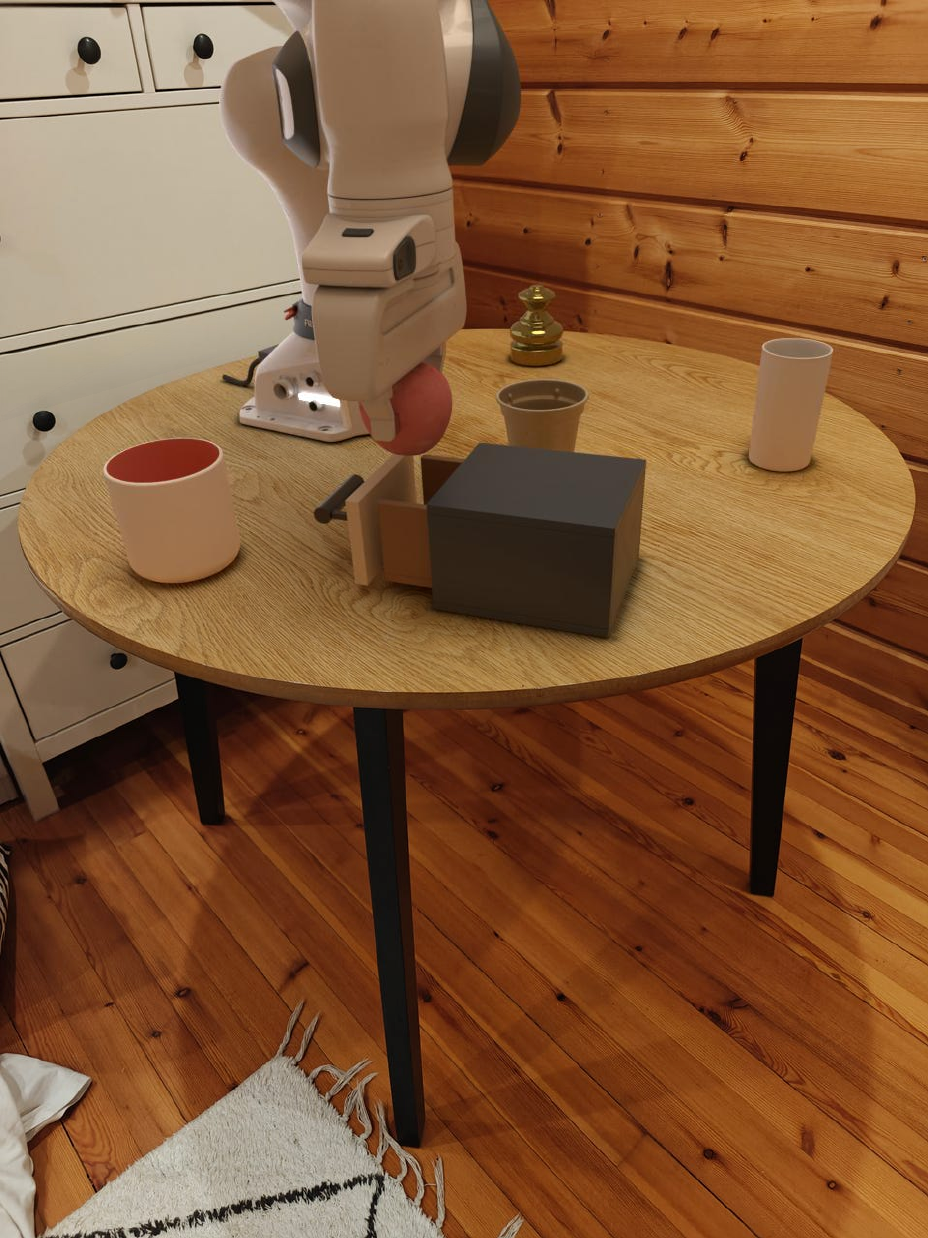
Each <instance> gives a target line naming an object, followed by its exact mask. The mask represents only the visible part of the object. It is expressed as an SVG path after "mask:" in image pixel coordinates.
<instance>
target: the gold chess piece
mask: <svg viewBox="0 0 928 1238" xmlns="http://www.w3.org/2000/svg"><path fill="white" fill-rule="evenodd" d="M555 298H556V293H555V292H554V291H552V290H551V289H549V288H547V287H545V286H544V285H542V284H532V285H530V286H529V287H528V288H525V289H523V290H522V291H520V292H519V293H518V299H519V300H520V301H521V302H522V303H523V304H524V305H525V307H526V311H525V313H524V314H523V315H522V316H520V318H519V320H518V321H515V323H513V324H512V325H511V326H510V329H509V336H510V338H511V340H512V341H511V342H510V343H509V347H510V360H511V361H512V362H513V363H516V364H517V365H520V366H527V367H545V366H551V365H553V364H556V363H559V362H560V361H561V360H562V359H563V346H564V343H563V341H562V340H560V339H561V338H562V337H563V335H564V327H563V325H562V324H561V323H559V321H556V320H554V317H553V316H551V315H550V313H549V312H548V310H547V307H548V305H549V304H550V303H551V302H552V301H553V300H554V299H555Z"/></svg>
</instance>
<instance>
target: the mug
mask: <svg viewBox="0 0 928 1238" xmlns="http://www.w3.org/2000/svg"><path fill="white" fill-rule="evenodd" d="M833 353H834V348H833V346H831V345H829V344H827V343H826V342H822V341H819V340H815V339H811V338H810V339H809V338H801V337H787V338H786V337H783V338H775V339H770V340H768V341H766V342H764V343H763V344H762V345H761V354H760V360H759V368H758V375H757V383H756V392H755V401H754V410H753V418H752V425H751V426H752V427H751V435H750V443H749V453H748V459H749V461H750V462H751V463H752V464H753V465H754V466H756V467H758V468H761V469H764V470H767V471H773V472H785V473H786V472H795V471H800V470H803V469H805V468H807V467H808V466H809V465H810V463H811V457H812V453H813V450H814V449H813V448H814V444H815V441H816V437H817V431H818V425H819V421H820V416H821V413H822V407H823V403H824V398H825V394H826V389H827V384H828V380H829V375H830V371H831V370H830V369H831V364H832V357H833Z"/></svg>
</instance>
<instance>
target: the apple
mask: <svg viewBox="0 0 928 1238" xmlns="http://www.w3.org/2000/svg"><path fill="white" fill-rule="evenodd" d="M451 389H452V388H451V386H450V384H449V381H448V380H447V377H446V376H445V375H444V374H443V372H442V373H441V372H439V371H438V370H437V369H436V368H434V367H433V366H431V365H428V364H426V363H422V362H421V363H419V364H418V365H417V366H416V367H414V368H413V369H412V370H411V371H410V372H408V373H407V374H406V375H405V376H404V377H402V378H401V379H400V380H399V381H397V382H396V383H395V384H394V385H393V386H392V392H393V396H392V398H391V399H390V402H391V406H392V409H393V412H394V413H399V420H400V423H399V426H400V433H399V434H398V435H397V436H396V437H395V438H394V439H393V440H392V441H390V442H385V441H376V440H375V439H374V438H373V437H372V432H371V423H370V418H369V417H368V415H367V414H366V412H365V410H364V408H363V406H362V405H361V403H360V402H358V403H359V410H360V414H361V417H362V420H363V422H364V425H365V427H366V428H367V430H368V432H369V433H370V434H369V435H370V436H371V438H372V439H373V440H374V441H375V442H376V444H377V445H378V446H379V447H380V448H382V449H383V450H385V451H386V452H388V453H391V454H392V455H393V454H396V455H403V456H413V457H414V456H419V455H424V454H425V453H428V452H429V451H431V450H432V449H433V448H435V446H436V445H438V443H439V442H440V441H441V440H442V438H443V437H444V435H445V433H446V431H447V429H448V426H449V424H450V421H451V418H452V413H453V395H452V390H451Z"/></svg>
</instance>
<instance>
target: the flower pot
mask: <svg viewBox="0 0 928 1238" xmlns="http://www.w3.org/2000/svg"><path fill="white" fill-rule="evenodd" d="M589 397H590V393H589V390H588V389H586V387H585V386H583V385H582V384H579V383H576V382H574V381H570V380H569V381H568V380H565V379H564V380H563V379H557V378H555V379H554V378H535V379H525V380H520V381H515V382H512V383H509V384H506V385H505V386H503V387H501V388H499V389H498V390H497V392H496V393H495V401H496V403H497V404H498V405H499V407H500V413H501V415H502V416H503V420H504V424H505V425H504V426H505V431H506V437H507V443H508V444H507V445H508V446H518V447H528V448H538V449H547V450H557V451H567V452H575V449H576V443H577V437H578V432H579V424H580V420H581V415H582V414H583V412H584V411H585V410H584V409H585V404H586V403H587V402H588V400H589Z"/></svg>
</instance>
